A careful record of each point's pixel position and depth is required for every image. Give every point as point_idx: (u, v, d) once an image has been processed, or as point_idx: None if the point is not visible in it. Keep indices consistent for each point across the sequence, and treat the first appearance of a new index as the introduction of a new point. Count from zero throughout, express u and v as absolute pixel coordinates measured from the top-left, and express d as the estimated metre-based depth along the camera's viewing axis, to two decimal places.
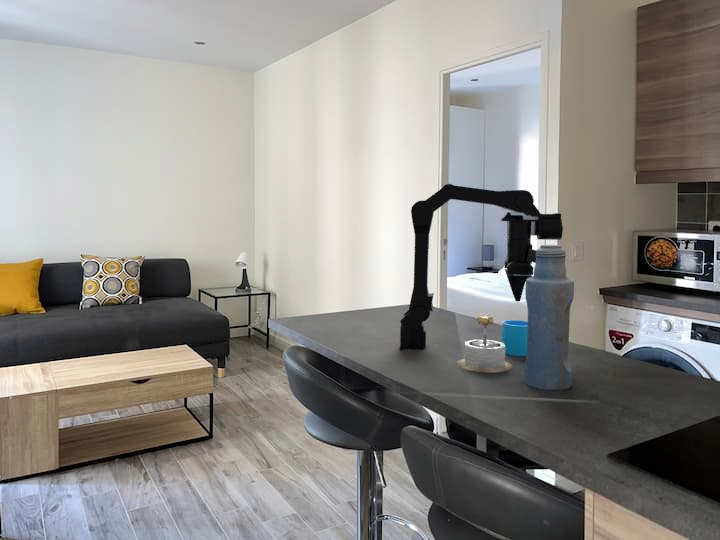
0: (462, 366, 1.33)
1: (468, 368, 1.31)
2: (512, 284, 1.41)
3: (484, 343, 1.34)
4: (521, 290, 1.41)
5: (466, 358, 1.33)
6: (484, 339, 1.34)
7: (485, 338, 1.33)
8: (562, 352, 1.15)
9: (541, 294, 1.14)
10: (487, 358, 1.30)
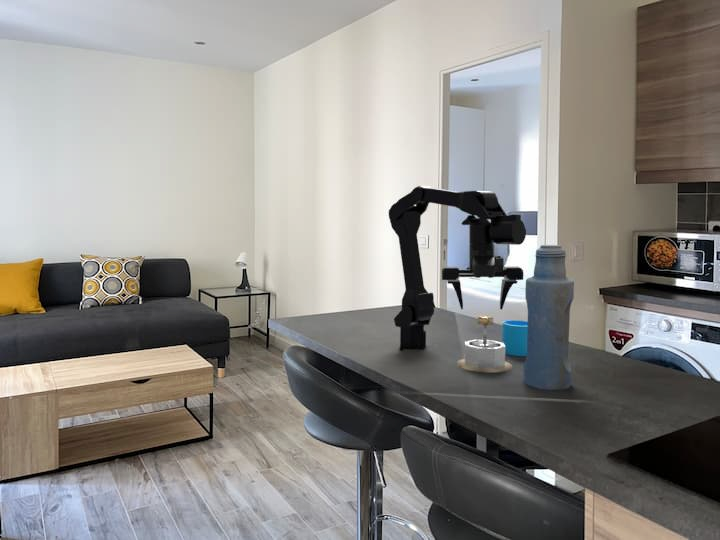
0: (462, 366, 1.33)
1: (468, 368, 1.31)
2: None
3: (484, 343, 1.34)
4: None
5: (466, 358, 1.33)
6: (484, 339, 1.34)
7: (485, 338, 1.33)
8: (562, 352, 1.15)
9: (541, 294, 1.14)
10: (487, 358, 1.30)
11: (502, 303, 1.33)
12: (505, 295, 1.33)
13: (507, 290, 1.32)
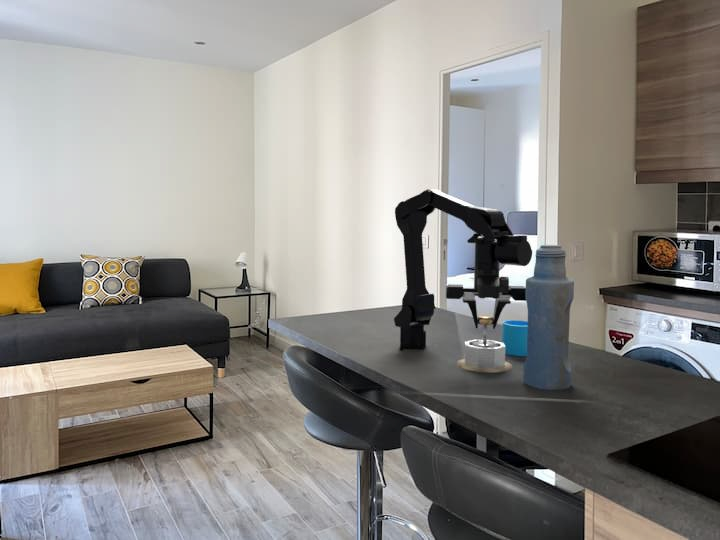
0: (462, 366, 1.33)
1: (468, 368, 1.31)
2: None
3: (484, 343, 1.34)
4: None
5: (466, 358, 1.33)
6: (484, 339, 1.34)
7: (485, 338, 1.33)
8: (562, 352, 1.15)
9: (541, 294, 1.14)
10: (487, 358, 1.30)
11: (495, 323, 1.32)
12: (498, 315, 1.32)
13: (500, 310, 1.31)
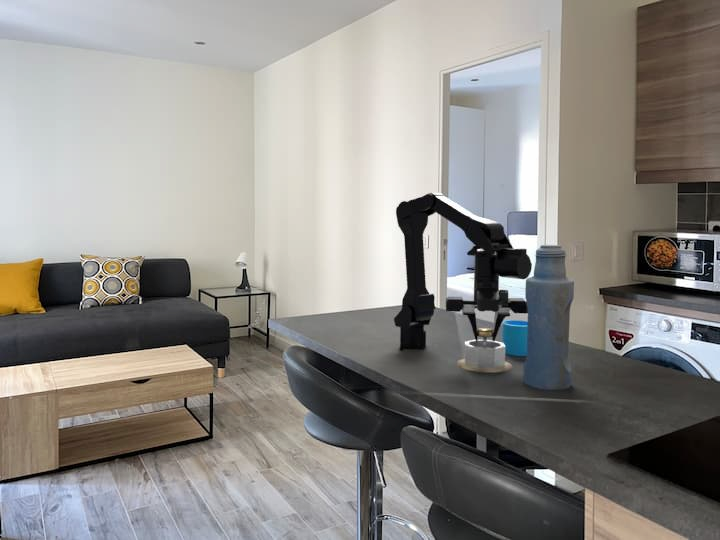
0: (462, 366, 1.33)
1: (468, 368, 1.31)
2: None
3: None
4: (472, 328, 1.33)
5: (466, 358, 1.33)
6: None
7: None
8: (562, 352, 1.15)
9: (541, 294, 1.14)
10: (487, 358, 1.30)
11: (494, 335, 1.33)
12: (498, 327, 1.32)
13: (500, 322, 1.32)
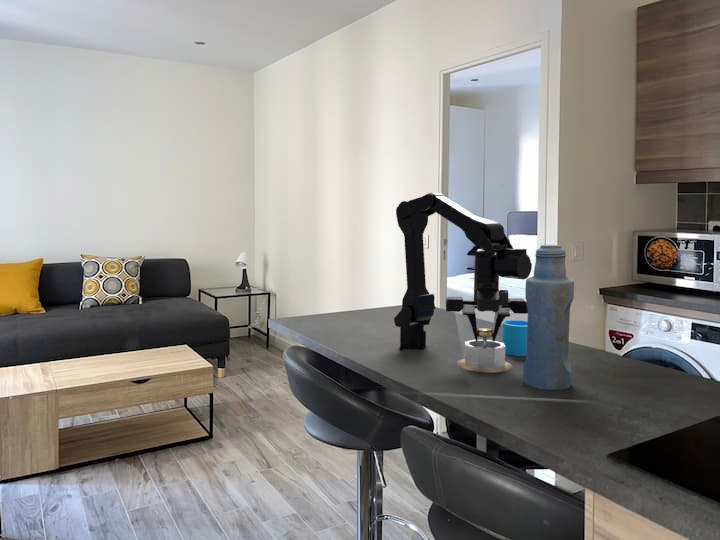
0: (462, 366, 1.33)
1: (468, 368, 1.31)
2: None
3: None
4: (472, 328, 1.33)
5: (466, 358, 1.33)
6: None
7: None
8: (562, 352, 1.15)
9: (541, 294, 1.14)
10: (487, 358, 1.30)
11: (494, 335, 1.33)
12: (498, 327, 1.32)
13: (500, 322, 1.32)
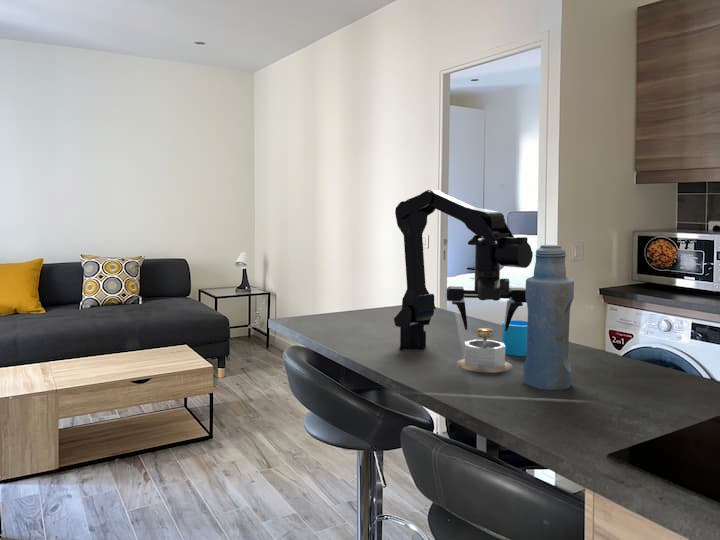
0: (462, 366, 1.33)
1: (468, 368, 1.31)
2: None
3: None
4: (462, 317, 1.33)
5: (466, 358, 1.33)
6: None
7: None
8: (562, 352, 1.15)
9: (541, 294, 1.14)
10: (487, 358, 1.30)
11: (507, 325, 1.32)
12: (510, 317, 1.31)
13: (512, 312, 1.31)
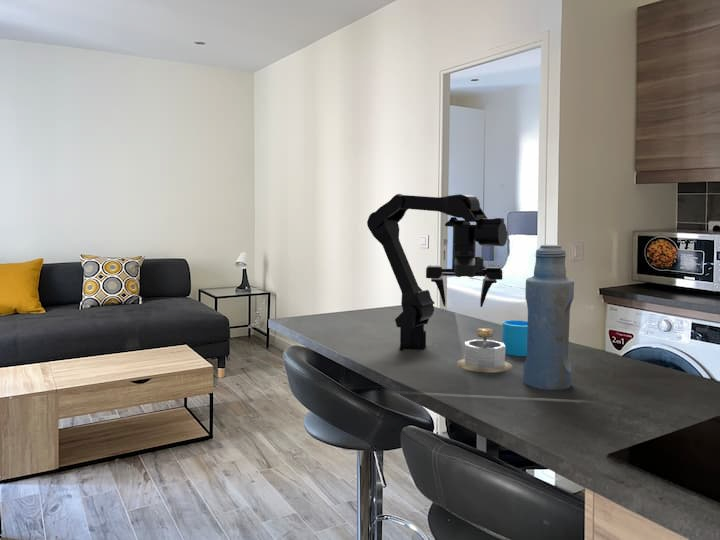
0: (462, 366, 1.33)
1: (468, 368, 1.31)
2: None
3: None
4: (440, 294, 1.42)
5: (466, 358, 1.33)
6: None
7: None
8: (562, 352, 1.15)
9: (541, 294, 1.14)
10: (487, 358, 1.30)
11: (482, 301, 1.41)
12: (485, 293, 1.40)
13: (487, 289, 1.40)
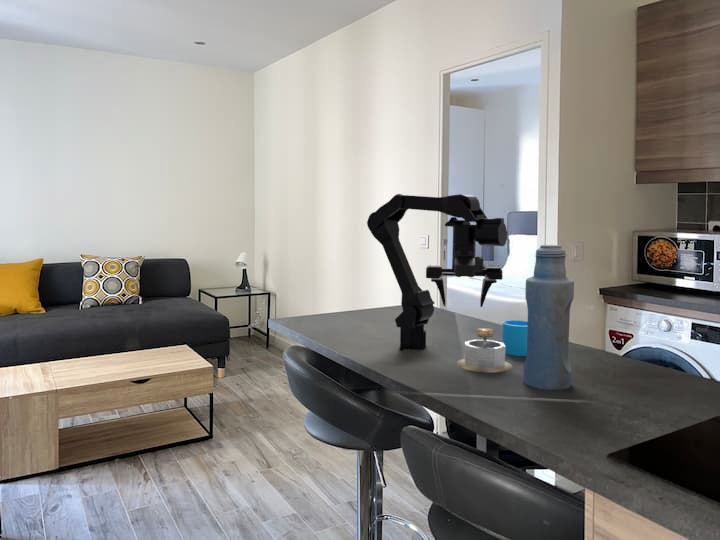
0: (462, 366, 1.33)
1: (468, 368, 1.31)
2: None
3: None
4: (440, 294, 1.43)
5: (466, 358, 1.33)
6: None
7: None
8: (562, 352, 1.15)
9: (541, 294, 1.14)
10: (487, 358, 1.30)
11: (482, 301, 1.41)
12: (485, 293, 1.40)
13: (487, 289, 1.40)
